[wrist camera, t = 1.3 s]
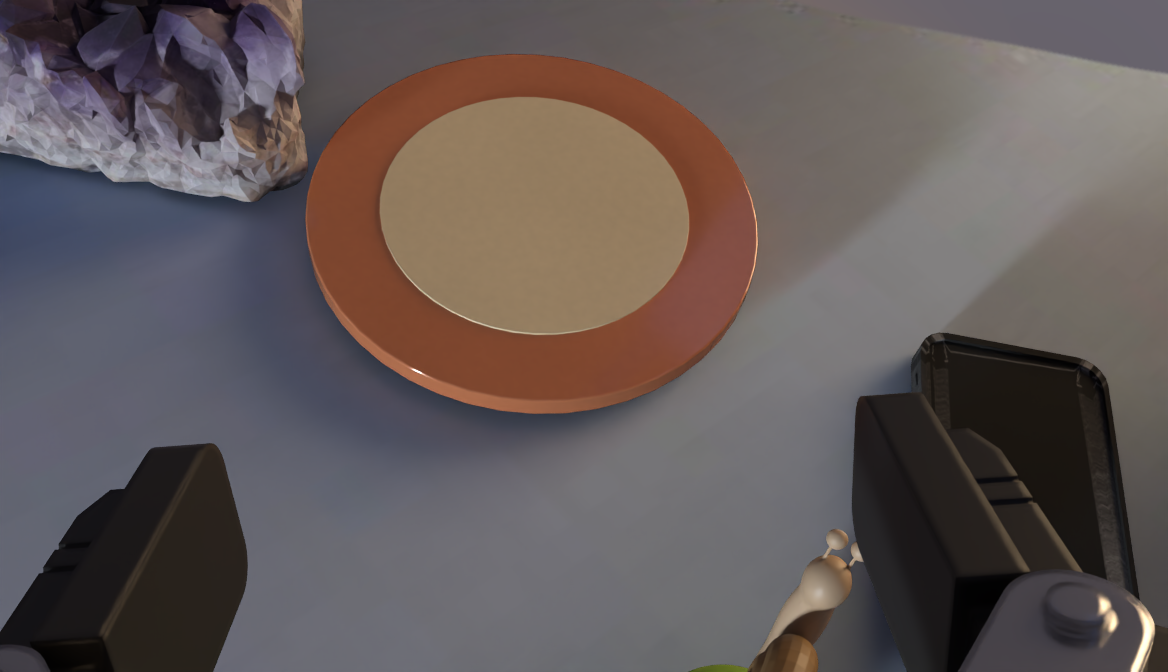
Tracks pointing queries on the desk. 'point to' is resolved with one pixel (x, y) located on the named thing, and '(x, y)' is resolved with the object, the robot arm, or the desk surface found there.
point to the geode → (157, 91)
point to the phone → (1040, 437)
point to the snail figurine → (804, 614)
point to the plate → (531, 233)
